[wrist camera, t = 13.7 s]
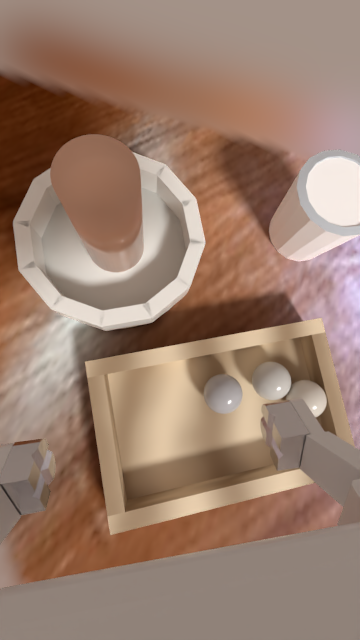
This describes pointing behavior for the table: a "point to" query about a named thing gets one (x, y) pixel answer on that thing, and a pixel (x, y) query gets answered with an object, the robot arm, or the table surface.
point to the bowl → (103, 286)
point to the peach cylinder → (102, 198)
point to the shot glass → (319, 207)
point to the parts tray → (199, 423)
